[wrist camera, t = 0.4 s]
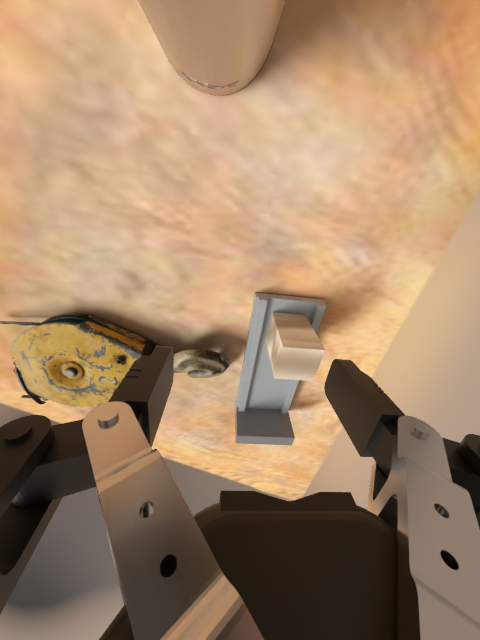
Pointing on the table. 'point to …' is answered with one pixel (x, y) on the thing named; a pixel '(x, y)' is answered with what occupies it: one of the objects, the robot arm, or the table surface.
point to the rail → (268, 374)
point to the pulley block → (90, 359)
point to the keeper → (293, 347)
